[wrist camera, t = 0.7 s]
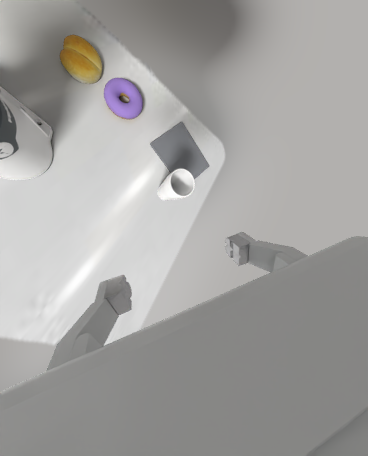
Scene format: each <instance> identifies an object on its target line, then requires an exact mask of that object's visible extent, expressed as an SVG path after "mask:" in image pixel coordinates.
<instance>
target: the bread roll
mask: <svg viewBox="0 0 368 456" xmlns="http://www.w3.org/2000/svg"><path fill="white" fill-rule="evenodd" d="M63 46H64V49H63V50H62V51H61V52H60V60H61V62H62V64H63V66H64V67H65V69H66V70H67V71H68V72H69V74H70V75H71V76H72V77H73V78H74V79H76V80H78V81H80V82H82V83H86V84H91V83H96V82H97V81H98V80H99V79H100V77H101V73H102V62H101V59H100V56H99V55H98V53H97V51H96V50H95V49H94V48H93V46H92V45H91V44H90V43H89V42H87V41H86V40H85V39H83V38H81V37H79V36H76V35H69V36H67V37H66V38H65V39H64V45H63Z"/></svg>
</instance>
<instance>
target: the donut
mask: <svg viewBox="0 0 368 456" xmlns="http://www.w3.org/2000/svg"><path fill="white" fill-rule="evenodd" d="M120 96H125V97H127V98H128V99H129V102H128V103H123V102H122V101H120V99H119V97H120ZM104 98H105V100H106V103H107V105H108V107H109V108H110V110H111V111H112V112H113V113H114V114H115V115H117V116H118V117H121V118H123V119H133V118H135V117H137V116H138V115H139V114H140V112H141V110H142V106H143V103H142V97H141V94H140V92H139V91H138V89H137V88H136V87H135V85H134V84H132V83H131V82H130V81H128V80H126V79H123V78H114V79H111V80H110V81H109V82H108V83H107V84H106V85H105V89H104Z"/></svg>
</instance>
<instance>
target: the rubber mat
mask: <svg viewBox="0 0 368 456" xmlns="http://www.w3.org/2000/svg"><path fill="white" fill-rule="evenodd" d="M150 145H151V146H152V148H153V149H154V151H155V152H156V153H157V155H158V156H159V157H160V159H161V160H162V161H163V163H164V164H165V166H166V167H167V168H168V170H169V171H170V172H171V173H172V172H173V171H175V170H176V169H186V170H187V171H189V172H190V173H191V174H192V176H193V178H194V179H195V178H196V177H197V176H199V175H200V174H201V173H202V172H203V171H204V170H205V169H207V168H208V167H209V165H208V163H207V162H206V160H205V158H204V157H203V155H202V153H201V152H200V150H199V149H198V147H197V145H196V144H195V142H194V140H193V139H192V137H191V136H190V134H189V132H188V131H187V129H186V127H185V126H184V124H183V123H182V122H180V123H179V124H177V125H176V126H175V127H173V128H172V129H170V130H169V131H167V132H166V133H165V134H163V135H162V136H160V137H159V138H157V139H156V140H155V141H153V142H152V143H150Z"/></svg>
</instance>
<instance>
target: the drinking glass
mask: <svg viewBox="0 0 368 456" xmlns="http://www.w3.org/2000/svg"><path fill="white" fill-rule="evenodd" d="M194 187H195V181H194V178H193V176H192V174H191V173H190V172H189V171H187V170H186V169H176V170H175V171H173V172H172V173H170V174H169V175H168V176H167V177H166V179H165V180H164V181H163V183H162V184H161V185H160V186H159V188H158V191H157V193H158V196H159V197H160V198H161V199H162V200H165V201H166V200H174V199H181V198H184V197H187V196H189V195H190V194H191V193H192V192H193V190H194Z"/></svg>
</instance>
